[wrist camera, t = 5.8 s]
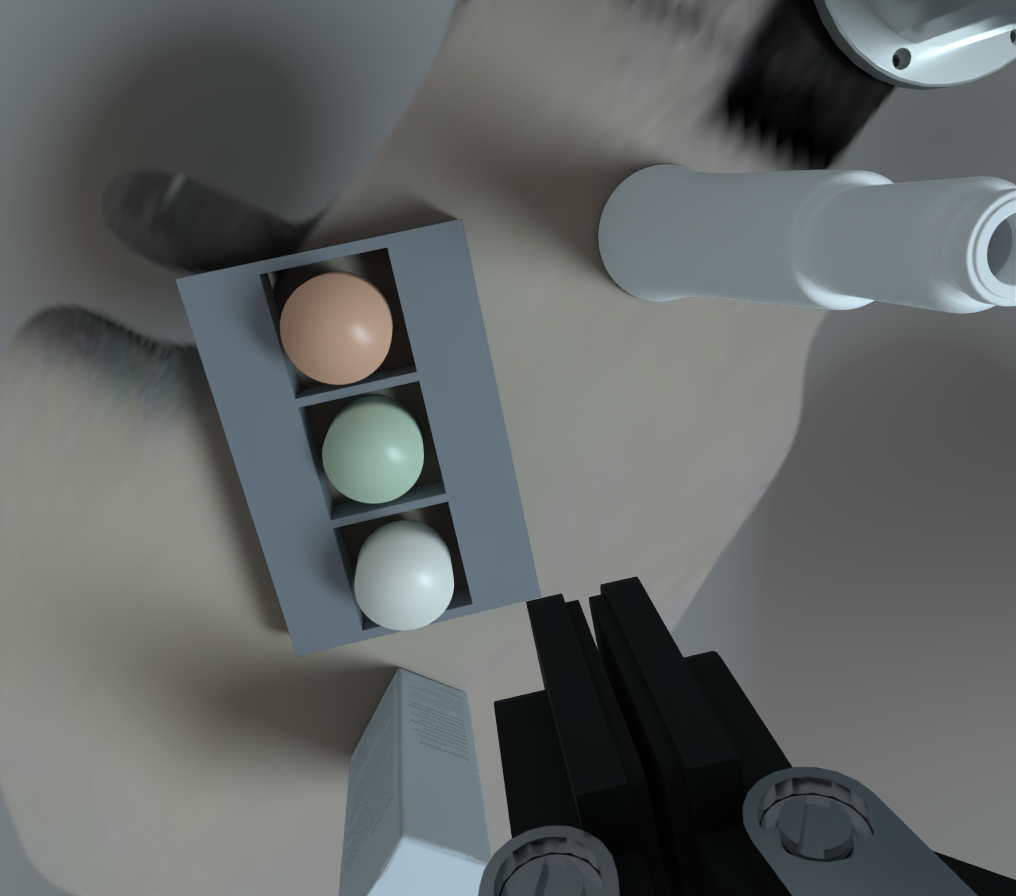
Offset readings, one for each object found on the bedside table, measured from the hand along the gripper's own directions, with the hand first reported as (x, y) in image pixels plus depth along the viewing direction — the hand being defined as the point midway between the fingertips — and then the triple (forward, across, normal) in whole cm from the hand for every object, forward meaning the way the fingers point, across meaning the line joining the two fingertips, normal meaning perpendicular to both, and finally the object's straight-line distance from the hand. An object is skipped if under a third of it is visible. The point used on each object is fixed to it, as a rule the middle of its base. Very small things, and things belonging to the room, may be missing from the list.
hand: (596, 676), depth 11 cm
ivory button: (+24, +6, +9) cm, 26 cm away
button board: (+26, +6, +3) cm, 27 cm away
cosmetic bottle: (+27, -9, -4) cm, 29 cm away
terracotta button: (+25, +6, -3) cm, 25 cm away
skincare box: (+26, +8, +18) cm, 33 cm away
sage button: (+26, +6, +3) cm, 26 cm away
